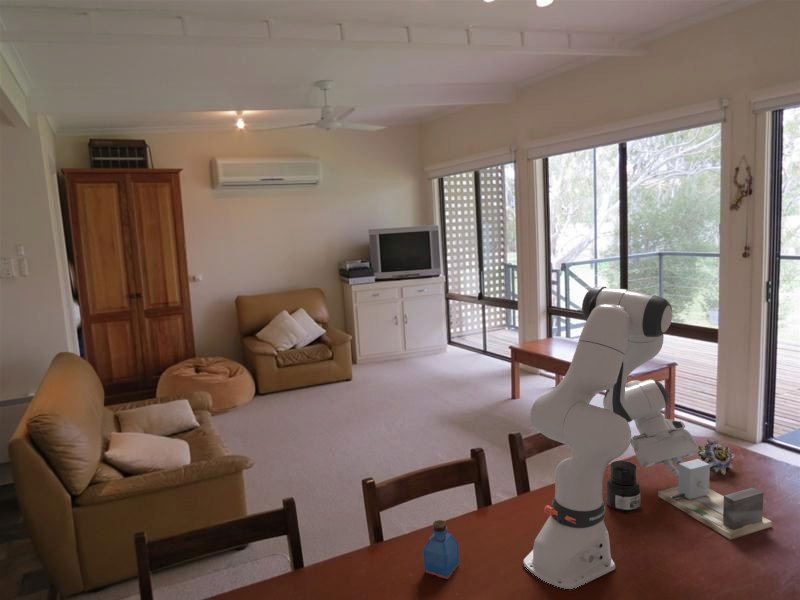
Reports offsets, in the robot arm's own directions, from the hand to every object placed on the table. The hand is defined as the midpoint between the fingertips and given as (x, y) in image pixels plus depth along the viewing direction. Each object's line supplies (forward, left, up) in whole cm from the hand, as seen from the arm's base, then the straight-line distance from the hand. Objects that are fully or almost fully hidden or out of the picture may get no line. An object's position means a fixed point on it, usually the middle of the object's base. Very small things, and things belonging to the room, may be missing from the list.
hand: (680, 474), depth 163 cm
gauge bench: (-4, -10, -6) cm, 12 cm away
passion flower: (+22, 0, -6) cm, 23 cm away
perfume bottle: (-75, +23, -6) cm, 78 cm away
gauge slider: (-4, -4, -4) cm, 7 cm away
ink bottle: (-18, +8, -6) cm, 20 cm away
